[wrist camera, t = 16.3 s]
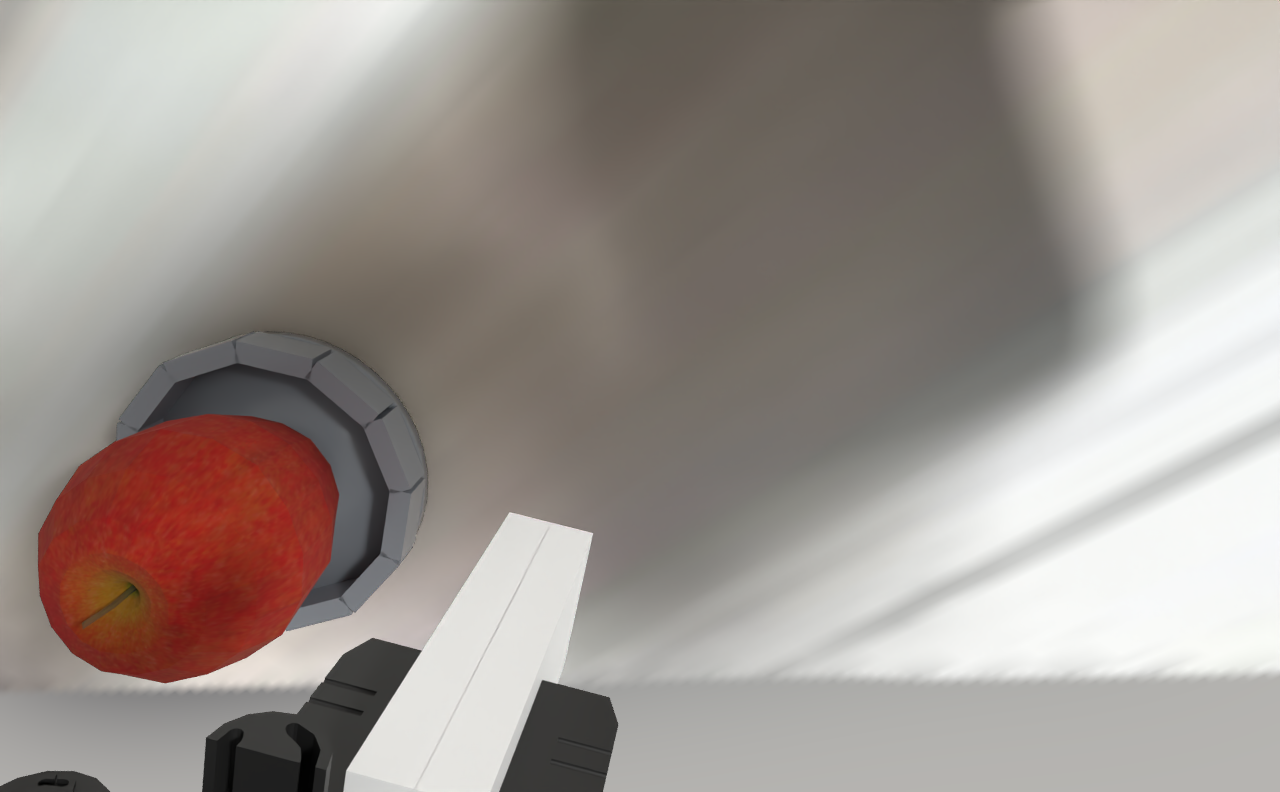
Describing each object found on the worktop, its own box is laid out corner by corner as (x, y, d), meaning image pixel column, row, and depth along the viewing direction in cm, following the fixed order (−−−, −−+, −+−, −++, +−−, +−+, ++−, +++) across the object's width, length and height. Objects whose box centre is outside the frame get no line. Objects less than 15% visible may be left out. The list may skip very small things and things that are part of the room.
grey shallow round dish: (107, 377, 44) (64, 394, 41) (363, 295, 42) (336, 307, 39) (225, 623, 48) (192, 655, 45) (468, 560, 45) (451, 589, 42)
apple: (322, 608, 46) (156, 805, 32) (147, 503, 45) (-97, 660, 32) (418, 449, 43) (278, 593, 29) (232, 334, 42) (3, 428, 29)
